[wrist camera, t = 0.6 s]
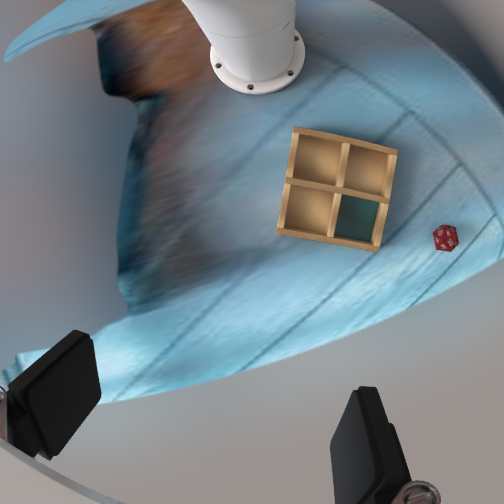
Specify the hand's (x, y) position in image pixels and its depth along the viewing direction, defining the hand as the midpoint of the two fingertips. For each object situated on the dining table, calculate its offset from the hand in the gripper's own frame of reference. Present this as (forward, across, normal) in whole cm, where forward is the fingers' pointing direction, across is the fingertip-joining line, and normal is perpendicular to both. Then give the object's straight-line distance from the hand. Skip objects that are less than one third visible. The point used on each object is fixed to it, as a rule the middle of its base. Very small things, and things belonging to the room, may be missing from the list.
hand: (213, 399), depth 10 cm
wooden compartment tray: (+33, -8, -7) cm, 35 cm away
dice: (+33, -25, -3) cm, 42 cm away
